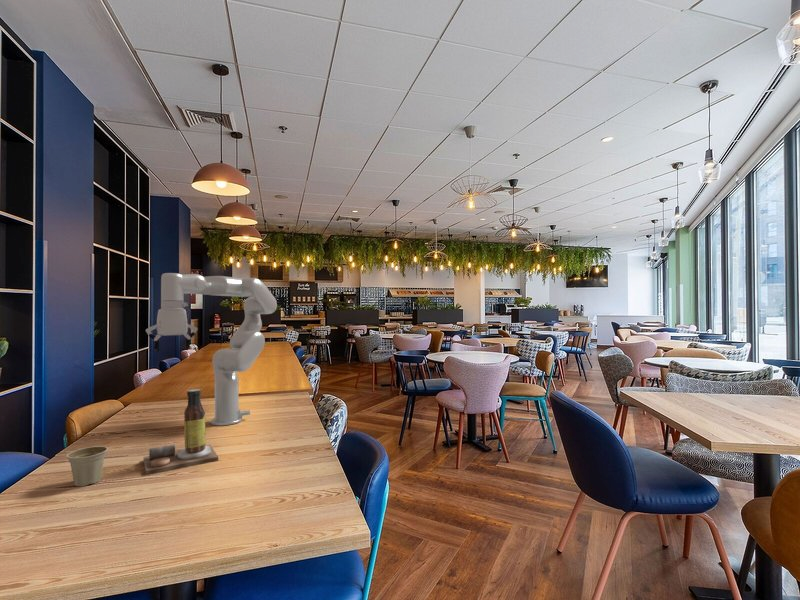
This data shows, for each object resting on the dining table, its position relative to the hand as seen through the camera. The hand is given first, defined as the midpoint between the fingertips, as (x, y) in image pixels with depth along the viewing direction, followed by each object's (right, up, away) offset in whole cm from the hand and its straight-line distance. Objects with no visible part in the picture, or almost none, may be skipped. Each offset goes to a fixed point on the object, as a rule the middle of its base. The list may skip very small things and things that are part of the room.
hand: (172, 350), depth 156 cm
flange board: (+15, -33, -23) cm, 43 cm away
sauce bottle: (+19, -31, -20) cm, 41 cm away
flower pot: (-3, -33, -39) cm, 51 cm away
